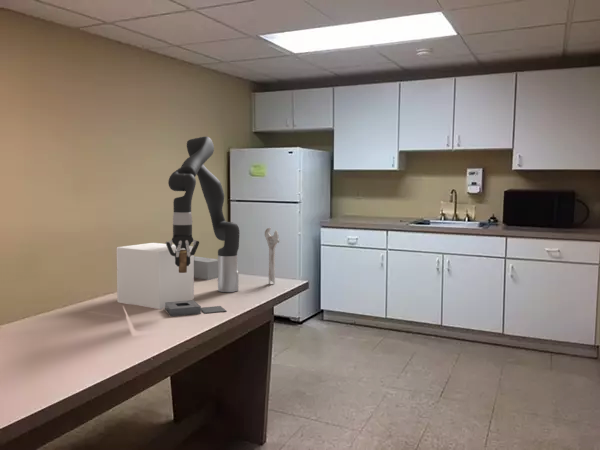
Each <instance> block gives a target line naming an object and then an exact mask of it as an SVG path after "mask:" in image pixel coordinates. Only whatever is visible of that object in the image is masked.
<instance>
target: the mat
mask: <svg viewBox="0 0 600 450" xmlns="http://www.w3.org/2000/svg"><path fill="white" fill-rule="evenodd" d="M226 312H227V310H226V309H225V308H224V307H223V306H221V305H217V306H214V305H213V306H203V307H202V306H201V313H203V314H204V315H206V314H217V313H226Z"/></svg>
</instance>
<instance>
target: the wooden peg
mask: <svg viewBox="0 0 600 450" xmlns="http://www.w3.org/2000/svg"><path fill="white" fill-rule="evenodd" d="M186 272H187V251H186V250H180V253H179V273H186Z"/></svg>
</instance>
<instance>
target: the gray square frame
mask: <svg viewBox="0 0 600 450" xmlns="http://www.w3.org/2000/svg"><path fill="white" fill-rule="evenodd" d="M201 308H202V306H201V305H200V303H198V302H197V301H196V300H195V299H193V300H190V301H177V302H165V308H164V310H165V311H166V313H167V314H168V315H169V317H180V316H190V315H201V314H202V311H201Z"/></svg>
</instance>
